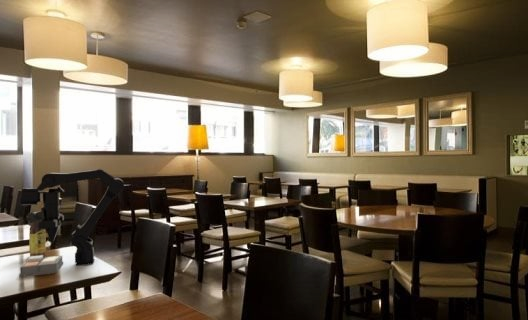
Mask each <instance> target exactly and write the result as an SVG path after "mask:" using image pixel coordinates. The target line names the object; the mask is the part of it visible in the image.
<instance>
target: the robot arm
mask: <svg viewBox="0 0 528 320" xmlns="http://www.w3.org/2000/svg"><path fill="white" fill-rule="evenodd" d="M94 179H99V180H100V181H102V182H103V183H105V184H106V185H107V189H106V191H105V192H104V195H103V196H102V198H101V199H100V201H99V202H98V204H97V205H96V206H95V208H94V209H93V211H92V212H91V214H90V215H89V216H88V218H87V220H86V221H85V223H83V224H82V225H80V224H78V225H77V227H76V229H75V230H74V231H73V232H72V233H71V236H72V237H71V240H70V242H71V244H72V245H73V246H74V247H76V251H75V253H74V259H75V261H74V263H75V266H84V265H93V264H94V263H95V252H94V251H95V248H94V246H93V243H94V240H93V239H92V238H90V235H91V233H92V230H93V229H94V227H95V226H96V224H97V222H98V221H99V220H100V218H101V216H102V215H103V214H104V212H105V211H106V209H107V207H108V206H109V205H110V204H111V202H112V201H113V200H114V199H115V198H116V197H117V196H118V195H119V194H120V193H121V192H122V191H123V190H124V187H125V184H124V181H123V179H121V178H119V177H114V176H113V175H111V174H109V173H108V172H106V171H105V170H104V169H102V168H98V169H94V170H93V169H92V170H85V171H84V170H82V171H76V172H68V173H65V172H64V173H63V172H49V173H46V174H44V175H43V176H42V177H41V182H40V184H39V185H38V186H37V187H33V188H31V187H30V188H28V187H22V188H21V191H20V197H19V200H20V201H19V202H20V205H21V206H30V205H31V206H33V205H35V206H37V205H39V204H40V202H42V207H41V208H40V210H39V211H35V212H36V213H34V211H32V212H29V213H27V215H26V216H25V217H26V221H28V223H29V224H32V223H33V222H34V221H37V220H40V219H41V221H40V222H39V223H38V229H45V232H46V233H47V236H48V239H49V242H50V243H53V242H54V241H55V238H56V236H57V234H58V232H59V230H60V227H61V226H62V222H63V221H64V220H65V215H64V214H62V213H60V208H61V205H60V194H61V193H65V189H63V188H62V187H61V185H64V184H68V183H73V182H81V181H88V180H94ZM55 187H57V188H55ZM48 188H49V189H48ZM46 189H48V190H46ZM45 190H46V191H45ZM58 221H62V222H58Z"/></svg>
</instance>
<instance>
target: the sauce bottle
mask: <svg viewBox="0 0 528 320" xmlns="http://www.w3.org/2000/svg"><path fill="white" fill-rule="evenodd" d="M33 212H34V211H33ZM36 212H37V211H35V212H34V213H36ZM40 221H41V219H40V220H37V221H34V222H33V223H31V225H30V226H29V233H28V234H29V237H28V240H29V245H28V247H29V248H28V249H29V258H30V257H31V256H40V255H43V257H44V256H45V255H46V248H47V247H46V241H47V240H46V230H45V229H38V223H39V222H40Z"/></svg>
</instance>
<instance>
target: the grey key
mask: <svg viewBox="0 0 528 320" xmlns="http://www.w3.org/2000/svg"><path fill="white" fill-rule="evenodd" d="M43 257H44V256H43V255H40V256H31V257H30V256H29V258H28V259H27V260H28V262H36V261H42V260H43Z"/></svg>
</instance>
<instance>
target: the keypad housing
mask: <svg viewBox="0 0 528 320" xmlns="http://www.w3.org/2000/svg"><path fill="white" fill-rule="evenodd" d="M54 256H55V255H53V256H52V257H54ZM59 256H60V258H59V259H57V262H56V263H55V264H46V265H41V262H42V261H43V260H44V259H46V258H47V257H48V256H45V257H44V256H43V260H42V261H36V262H40V263H39V264H38V265H35V266H25V267H23V266H24V265H25V264H26V263H30V262H28V259H27V260H26V261H25V262H24V263H23V264H22V265H21V266H20V269H19V270H20V273H19V278H21V277H31V276H32V277H33V276H38V275H39V276H41V275H49V274H58V273H59V272H60V271H59V270H61V268H62V266H63V265H64V261H63V255H59Z"/></svg>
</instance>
